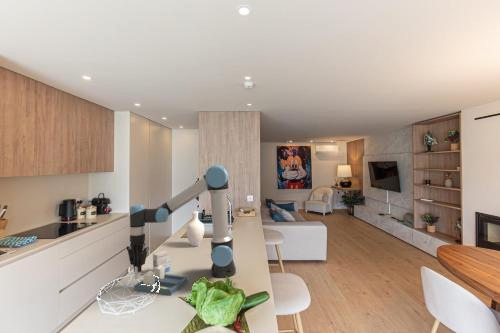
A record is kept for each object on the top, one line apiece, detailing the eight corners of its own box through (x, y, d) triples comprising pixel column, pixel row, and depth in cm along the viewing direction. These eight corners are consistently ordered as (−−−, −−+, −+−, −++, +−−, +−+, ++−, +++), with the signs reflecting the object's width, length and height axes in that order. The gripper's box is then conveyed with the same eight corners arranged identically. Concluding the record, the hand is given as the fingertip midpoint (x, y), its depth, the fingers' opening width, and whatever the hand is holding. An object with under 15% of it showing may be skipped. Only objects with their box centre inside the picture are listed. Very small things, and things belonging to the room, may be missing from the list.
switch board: (187, 281, 138) (187, 276, 138) (171, 295, 122) (171, 289, 122) (154, 276, 144) (154, 272, 144) (134, 289, 128) (134, 284, 128)
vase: (207, 246, 200) (207, 212, 200) (190, 249, 192) (190, 213, 192) (200, 242, 212) (200, 209, 212) (183, 245, 204) (183, 211, 204)
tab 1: (154, 283, 132) (154, 270, 132) (149, 286, 128) (149, 273, 128) (148, 282, 133) (148, 270, 133) (143, 286, 129) (143, 273, 129)
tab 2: (164, 277, 139) (164, 265, 139) (159, 280, 135) (159, 267, 136) (158, 276, 140) (158, 264, 141) (153, 279, 137) (153, 267, 137)
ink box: (165, 268, 155) (165, 250, 155) (170, 270, 152) (169, 251, 152) (152, 273, 149) (152, 253, 149) (157, 275, 145) (157, 255, 146)
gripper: (152, 232, 135) (152, 276, 134) (132, 231, 138) (132, 273, 138) (142, 236, 127) (143, 282, 127) (122, 234, 131) (122, 279, 131)
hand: (137, 277), depth 132 cm, fingers closed
